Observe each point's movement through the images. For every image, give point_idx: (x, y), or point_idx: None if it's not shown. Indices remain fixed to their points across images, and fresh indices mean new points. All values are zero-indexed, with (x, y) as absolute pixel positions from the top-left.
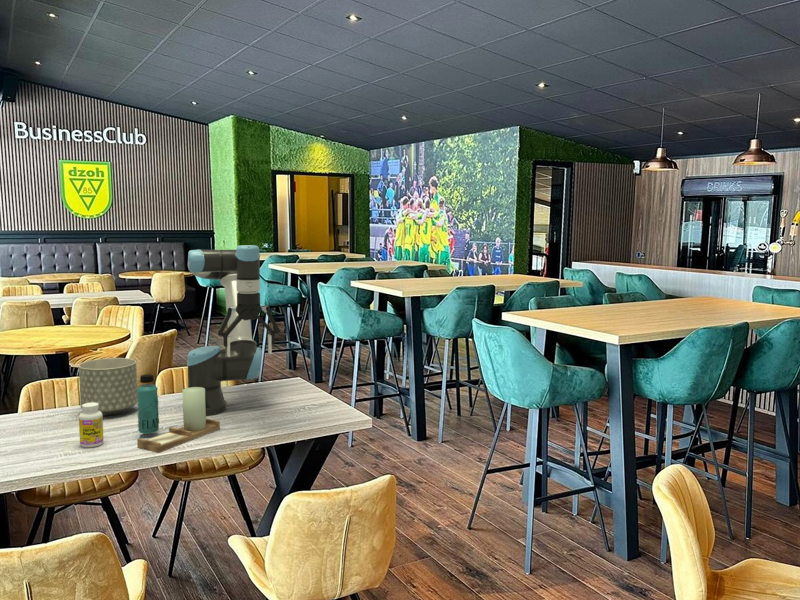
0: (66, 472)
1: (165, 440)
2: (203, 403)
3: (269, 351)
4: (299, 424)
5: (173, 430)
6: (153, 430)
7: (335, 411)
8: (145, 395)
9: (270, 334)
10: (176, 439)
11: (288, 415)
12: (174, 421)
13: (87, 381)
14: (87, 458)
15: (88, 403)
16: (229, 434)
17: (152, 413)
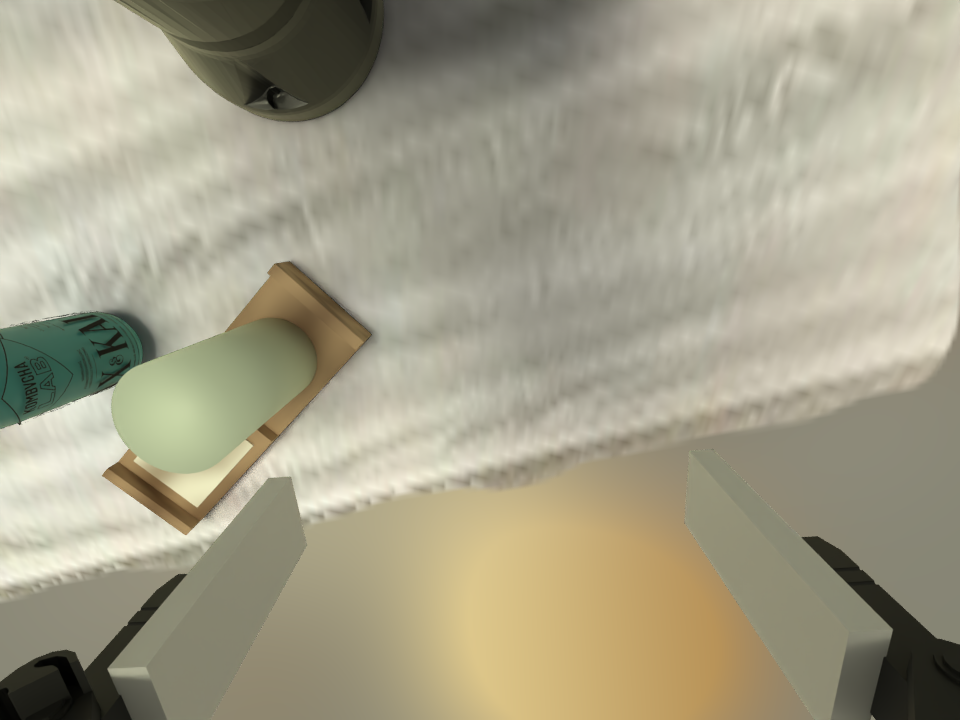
0: (4, 596)
1: (199, 474)
2: (264, 419)
3: (699, 544)
4: (674, 350)
5: None
6: None
7: (880, 200)
8: None
9: (879, 675)
10: (234, 467)
11: (660, 211)
12: (172, 178)
13: None
14: (10, 514)
15: None
16: (409, 402)
17: (65, 403)
